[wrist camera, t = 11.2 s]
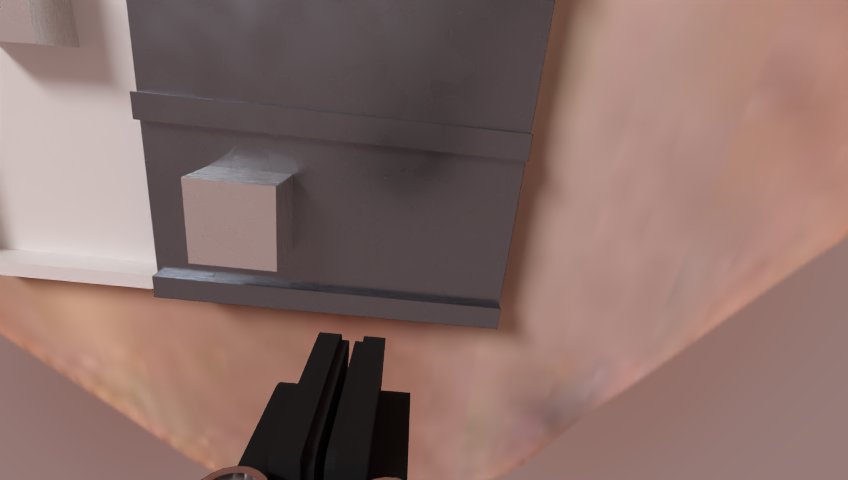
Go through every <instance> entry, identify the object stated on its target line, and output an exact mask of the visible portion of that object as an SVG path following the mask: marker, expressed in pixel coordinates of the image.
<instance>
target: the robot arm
mask: <svg viewBox="0 0 848 480" xmlns="http://www.w3.org/2000/svg"><path fill="white" fill-rule="evenodd" d="M384 350H385V338H379V337H368V336H364V339H363V342H359V341H355V344H354V348H353V352H352V356H351V360H350V363H349V367H348V358H349V341H348V340H342V335H341V334H333V333H322V332H320V333H319V335H318V337H317V339H316V342H315V344H314V347H313V349H312V352H311V354H310V356H309V359H308V361H307V364H306V366H305V368H304V371H303V373H302V376H301V378H300V380H299V383H298V384H296V383H284V382H280V383H278V385H277V386H276V388H275V390H274V392H273V394H272V396H271V398H270V400H269V402H268V404H267V406H266V408H265V410H264V413H263V415H262V417H261V419H260V421H259V423H258V425H257V427H256V429H255V431H254V433H253V435H252V437H251V439H250V441H249V443H248V445H247V448H246V450H245V452H244V454H243V456H242V458H241V460H240V462H239V464H238V466H234V467H228V468H223V469H220V470H218V471H215V472H213V473H211V474H209V475H208V476H206V477H205V478H203V479H201V480H407V469H408V442H409V414H410V393H405V392H393V391H381V385H382V373H383V361H384Z"/></svg>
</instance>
